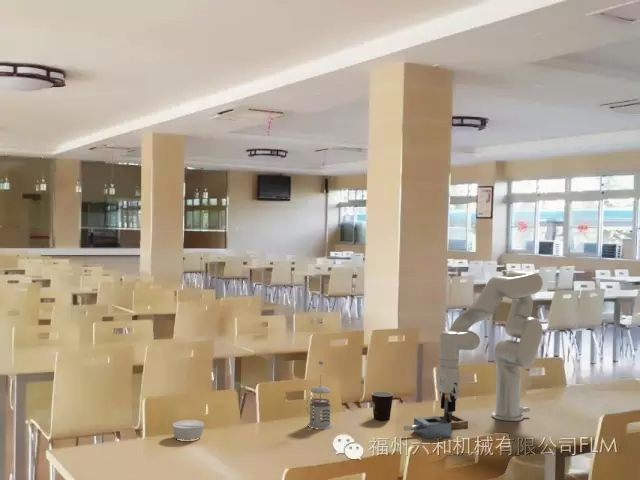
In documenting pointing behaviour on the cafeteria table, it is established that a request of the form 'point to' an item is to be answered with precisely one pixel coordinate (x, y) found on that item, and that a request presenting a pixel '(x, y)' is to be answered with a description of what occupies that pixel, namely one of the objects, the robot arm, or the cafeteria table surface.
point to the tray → (457, 422)
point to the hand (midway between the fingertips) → (447, 409)
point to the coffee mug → (382, 405)
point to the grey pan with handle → (431, 427)
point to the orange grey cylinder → (446, 414)
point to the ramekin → (188, 429)
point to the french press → (320, 408)
